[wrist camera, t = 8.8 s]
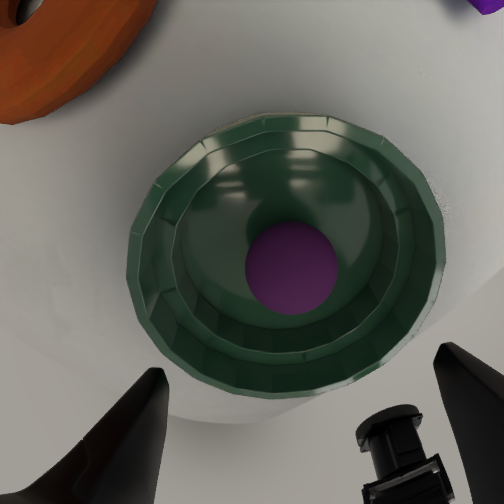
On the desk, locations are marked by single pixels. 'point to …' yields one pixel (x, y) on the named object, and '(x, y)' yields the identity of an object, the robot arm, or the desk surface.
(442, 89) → the desk surface
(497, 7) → the crystal
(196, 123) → the desk surface
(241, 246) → the bowl
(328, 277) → the ball
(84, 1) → the donut
